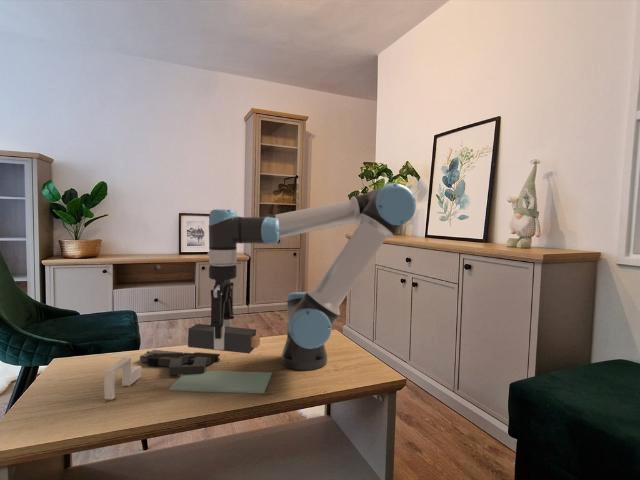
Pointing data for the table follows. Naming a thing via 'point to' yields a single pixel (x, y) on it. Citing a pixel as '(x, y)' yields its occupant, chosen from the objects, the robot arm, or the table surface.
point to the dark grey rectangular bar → (233, 338)
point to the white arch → (127, 376)
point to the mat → (223, 382)
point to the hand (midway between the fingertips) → (222, 345)
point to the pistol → (180, 361)
